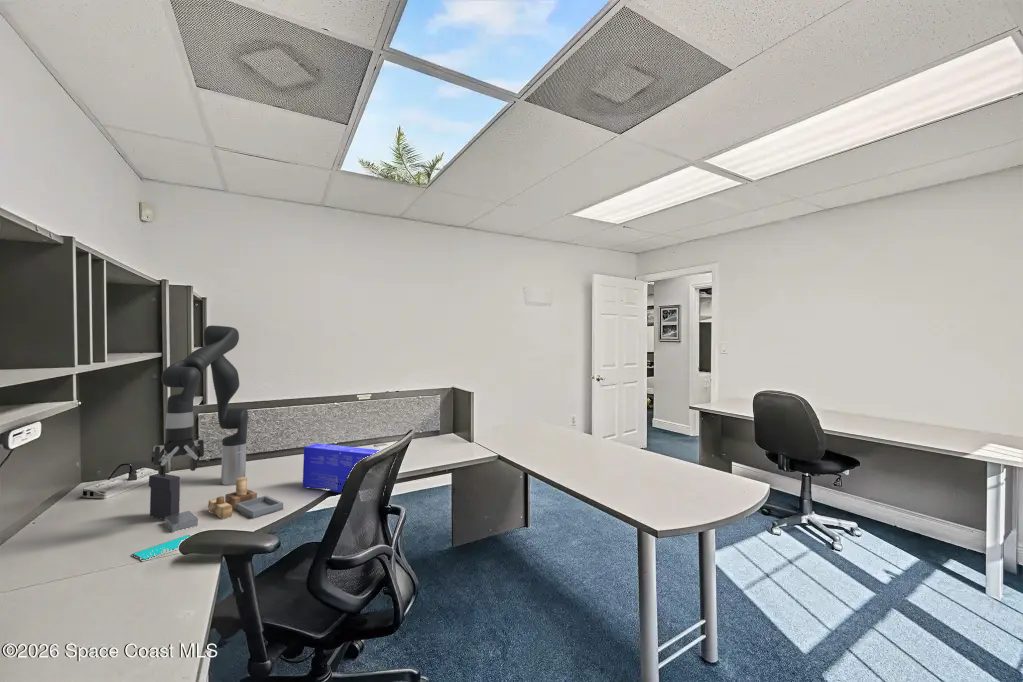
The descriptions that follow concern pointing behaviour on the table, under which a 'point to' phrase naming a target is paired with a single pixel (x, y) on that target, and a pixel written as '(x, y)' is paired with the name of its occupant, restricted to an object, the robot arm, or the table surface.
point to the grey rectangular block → (181, 521)
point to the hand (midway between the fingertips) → (177, 473)
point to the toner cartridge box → (330, 465)
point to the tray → (259, 506)
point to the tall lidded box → (164, 495)
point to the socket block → (239, 498)
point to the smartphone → (169, 545)
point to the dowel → (241, 486)
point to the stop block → (220, 507)
